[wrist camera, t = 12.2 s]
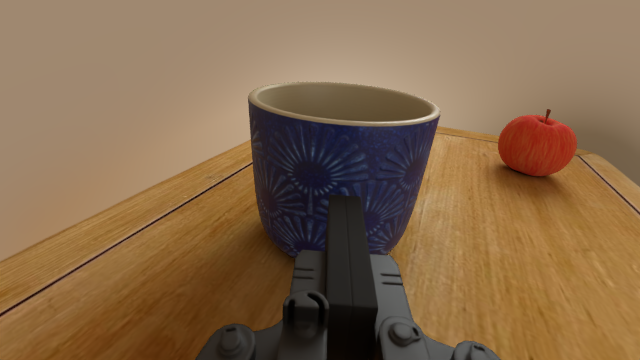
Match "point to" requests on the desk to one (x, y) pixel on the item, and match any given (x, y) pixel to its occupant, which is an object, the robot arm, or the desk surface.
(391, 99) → the planter
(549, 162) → the apple
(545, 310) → the desk surface
